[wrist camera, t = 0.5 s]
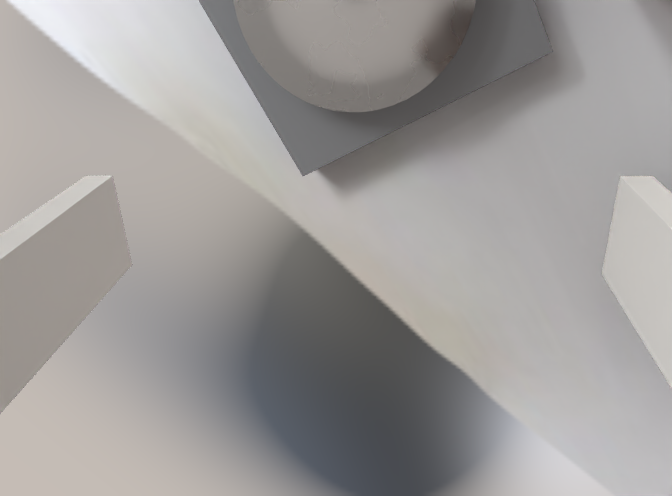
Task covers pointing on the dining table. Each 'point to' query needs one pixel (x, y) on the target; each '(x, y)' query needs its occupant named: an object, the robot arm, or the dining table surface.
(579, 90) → the dining table surface
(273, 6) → the scale pan
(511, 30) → the dial scale
